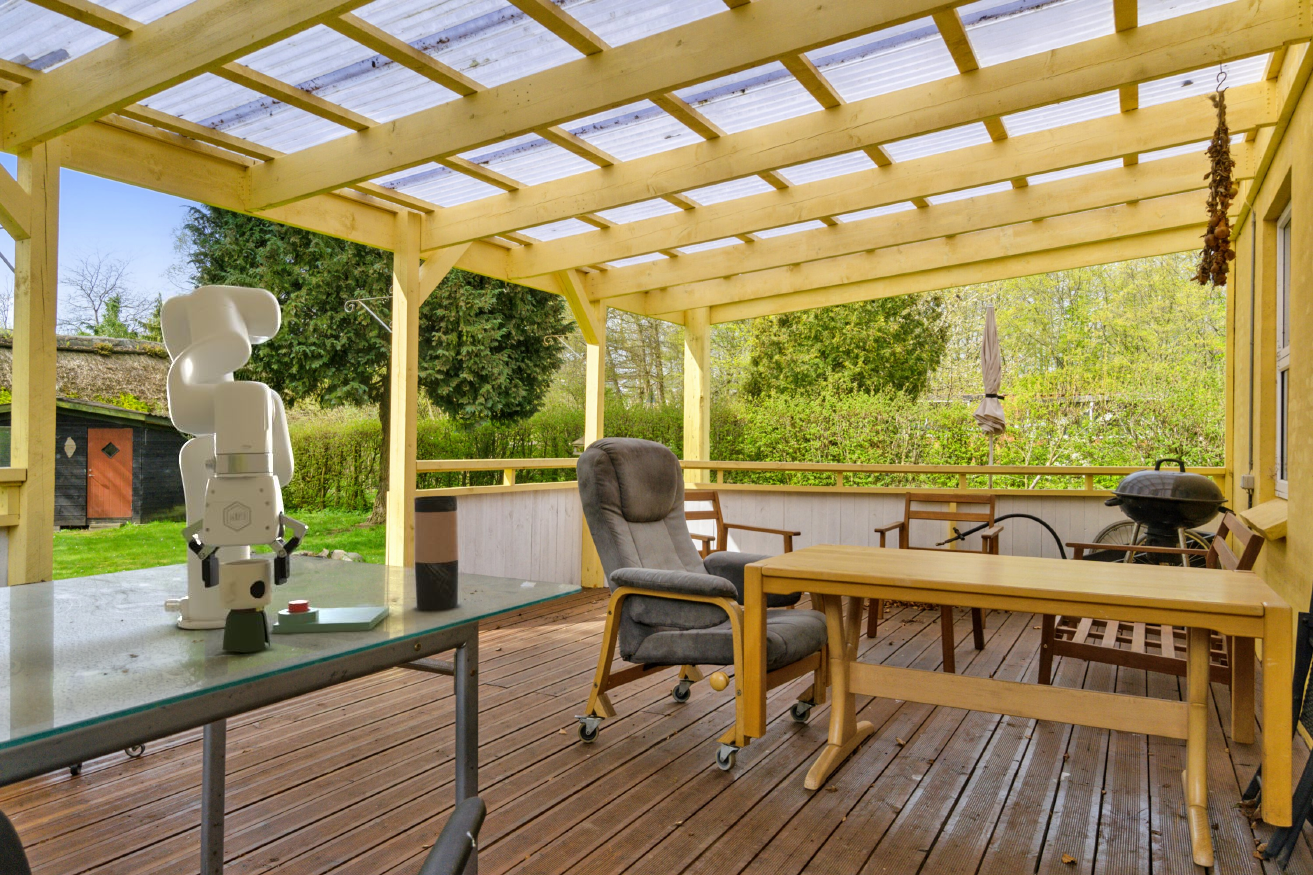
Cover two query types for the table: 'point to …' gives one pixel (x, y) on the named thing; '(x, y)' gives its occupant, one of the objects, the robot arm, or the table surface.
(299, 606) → the button
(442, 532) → the travel mug
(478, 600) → the table surface
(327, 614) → the scale
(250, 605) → the character mug
